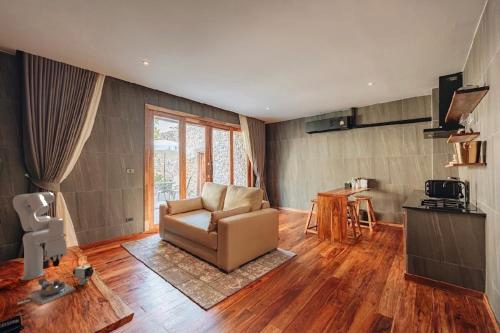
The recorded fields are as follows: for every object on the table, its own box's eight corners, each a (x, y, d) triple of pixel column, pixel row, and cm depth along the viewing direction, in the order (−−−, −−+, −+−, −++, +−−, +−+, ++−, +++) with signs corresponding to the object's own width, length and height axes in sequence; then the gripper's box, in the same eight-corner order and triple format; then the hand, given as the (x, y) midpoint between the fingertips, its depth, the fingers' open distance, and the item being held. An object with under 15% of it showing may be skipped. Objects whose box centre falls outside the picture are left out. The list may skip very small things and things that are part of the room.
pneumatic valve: (87, 286, 138) (87, 267, 138) (72, 284, 140) (72, 266, 141) (94, 282, 143) (95, 264, 144) (80, 280, 146) (80, 262, 146)
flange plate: (14, 303, 121) (14, 300, 121) (62, 284, 140) (62, 282, 141) (26, 310, 114) (26, 308, 114) (75, 290, 133) (75, 287, 133)
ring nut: (28, 289, 132) (28, 282, 132) (51, 280, 142) (51, 274, 142) (45, 297, 122) (45, 290, 123) (68, 288, 132) (68, 281, 132)
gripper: (66, 234, 150) (66, 261, 149) (38, 240, 136) (38, 269, 136) (72, 235, 147) (72, 262, 146) (44, 241, 133) (43, 271, 132)
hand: (56, 266), depth 141 cm, fingers closed
